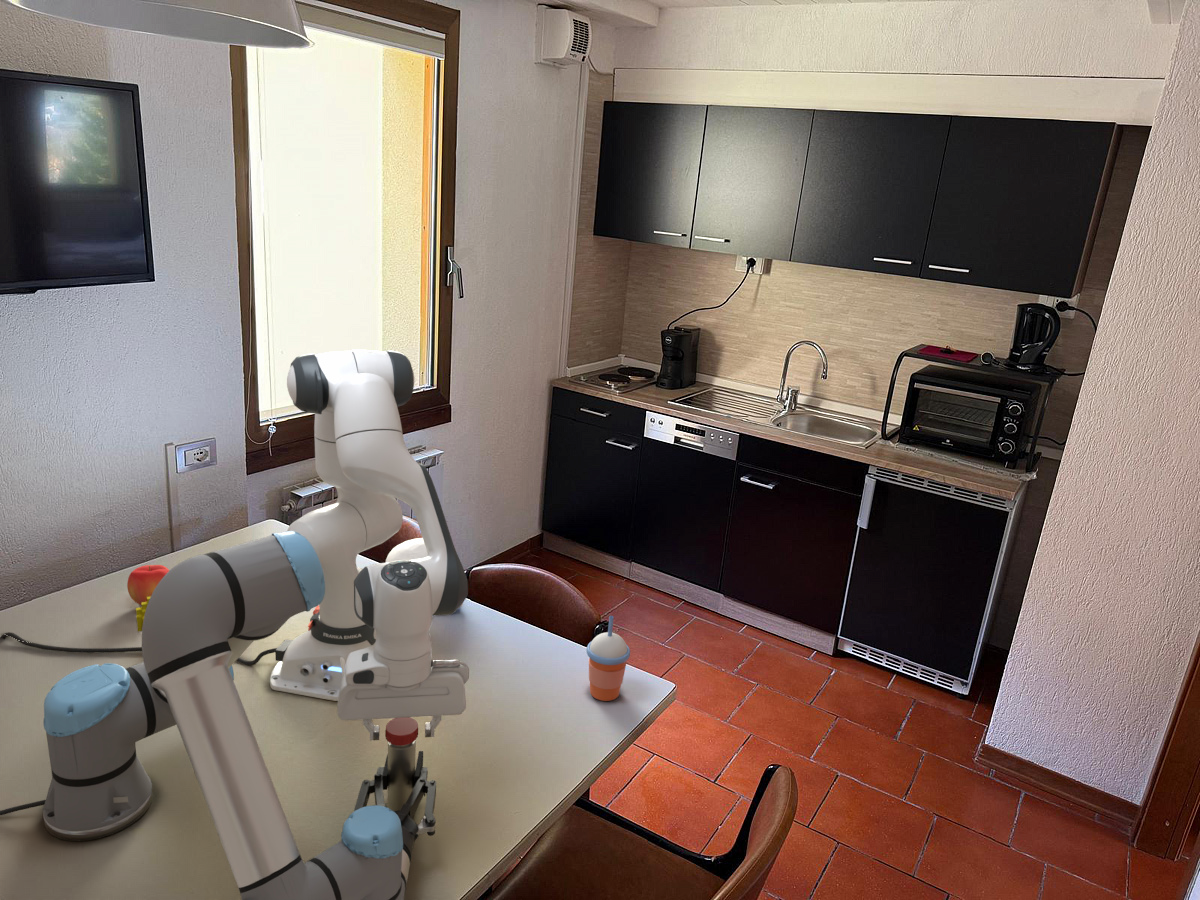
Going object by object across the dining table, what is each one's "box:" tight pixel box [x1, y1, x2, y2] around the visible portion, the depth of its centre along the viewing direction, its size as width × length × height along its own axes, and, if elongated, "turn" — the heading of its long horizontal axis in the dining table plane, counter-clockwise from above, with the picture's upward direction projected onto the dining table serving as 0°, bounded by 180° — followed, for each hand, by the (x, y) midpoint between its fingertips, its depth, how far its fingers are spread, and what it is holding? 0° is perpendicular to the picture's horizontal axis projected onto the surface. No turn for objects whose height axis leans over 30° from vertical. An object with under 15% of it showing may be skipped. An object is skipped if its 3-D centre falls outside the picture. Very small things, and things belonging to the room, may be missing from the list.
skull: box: [385, 537, 464, 609], centre depth 211 cm, size 13×22×16 cm, turn 67°
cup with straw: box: [586, 615, 631, 702], centre depth 178 cm, size 9×9×18 cm
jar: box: [387, 739, 417, 811], centre depth 141 cm, size 4×4×15 cm
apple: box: [126, 564, 171, 607], centre depth 199 cm, size 10×10×10 cm
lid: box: [384, 717, 419, 745], centre depth 139 cm, size 5×5×2 cm
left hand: (405, 757), depth 146 cm, fingers closed on jar, 4 cm apart
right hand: (402, 736), depth 139 cm, fingers open, 7 cm apart
